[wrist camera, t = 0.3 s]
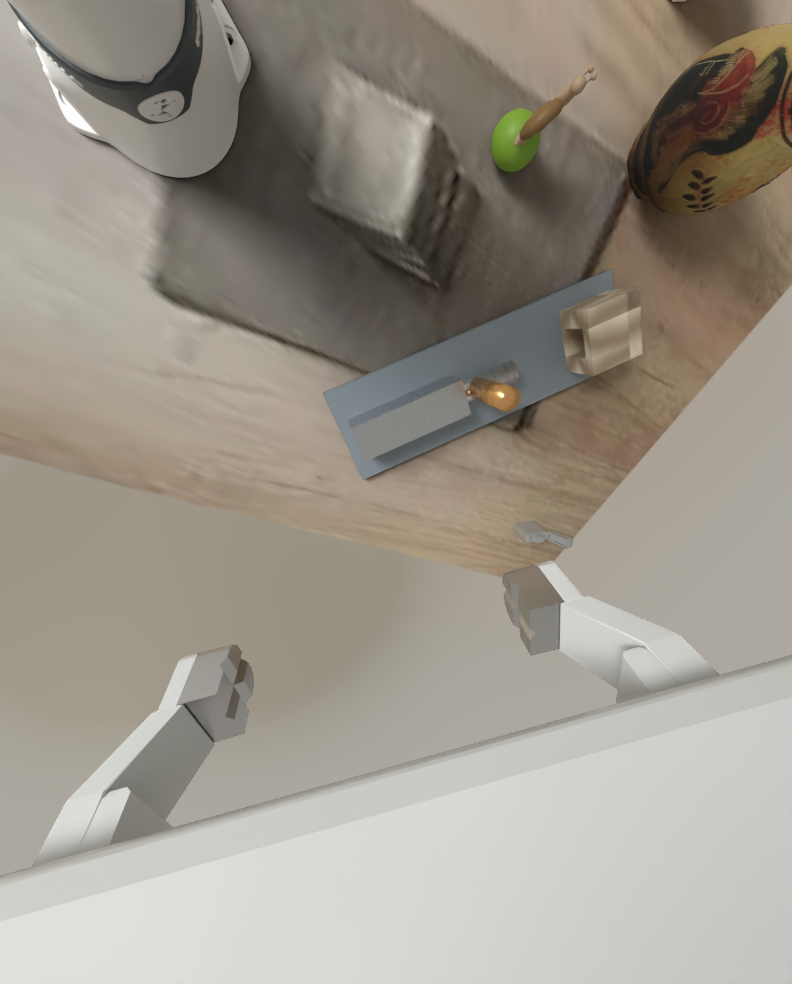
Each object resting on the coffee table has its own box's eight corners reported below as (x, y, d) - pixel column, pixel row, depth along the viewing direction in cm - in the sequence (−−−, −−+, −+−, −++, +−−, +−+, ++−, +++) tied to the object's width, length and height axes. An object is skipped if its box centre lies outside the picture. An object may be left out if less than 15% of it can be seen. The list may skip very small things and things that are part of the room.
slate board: (323, 392, 53) (323, 394, 52) (605, 270, 55) (612, 269, 54) (361, 477, 59) (363, 479, 58) (613, 363, 62) (619, 364, 60)
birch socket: (559, 311, 55) (586, 310, 50) (607, 290, 55) (639, 287, 50) (567, 371, 59) (593, 376, 54) (612, 351, 59) (642, 354, 54)
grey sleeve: (347, 419, 54) (351, 428, 49) (448, 375, 55) (461, 379, 50) (360, 450, 56) (366, 461, 51) (457, 407, 57) (471, 414, 52)
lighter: (512, 531, 71) (537, 554, 63) (513, 523, 70) (538, 545, 63) (546, 526, 72) (573, 548, 65) (547, 518, 71) (575, 539, 64)
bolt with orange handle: (356, 424, 53) (370, 447, 43) (505, 358, 55) (551, 366, 45) (365, 444, 55) (380, 470, 45) (509, 379, 56) (555, 391, 46)
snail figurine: (537, 150, 47) (608, 100, 37) (498, 189, 48) (556, 150, 37) (516, 103, 45) (584, 34, 34) (475, 145, 45) (530, 90, 35)
